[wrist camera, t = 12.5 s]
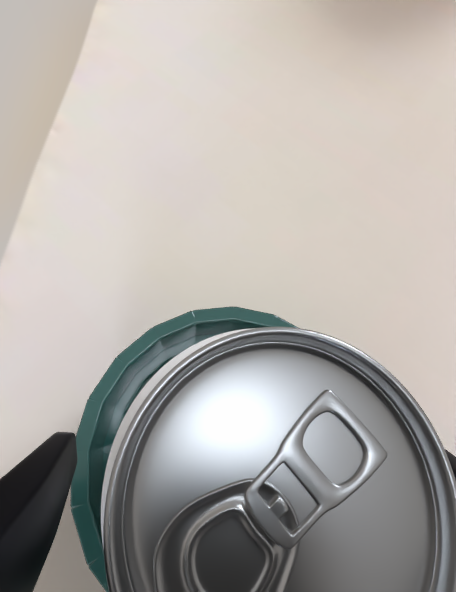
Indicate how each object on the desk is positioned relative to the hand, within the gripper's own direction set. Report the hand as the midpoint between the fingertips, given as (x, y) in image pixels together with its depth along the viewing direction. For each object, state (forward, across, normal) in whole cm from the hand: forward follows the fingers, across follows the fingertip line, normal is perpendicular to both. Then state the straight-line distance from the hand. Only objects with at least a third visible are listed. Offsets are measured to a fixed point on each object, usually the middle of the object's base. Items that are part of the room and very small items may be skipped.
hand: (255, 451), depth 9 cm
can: (+6, 0, +6) cm, 9 cm away
